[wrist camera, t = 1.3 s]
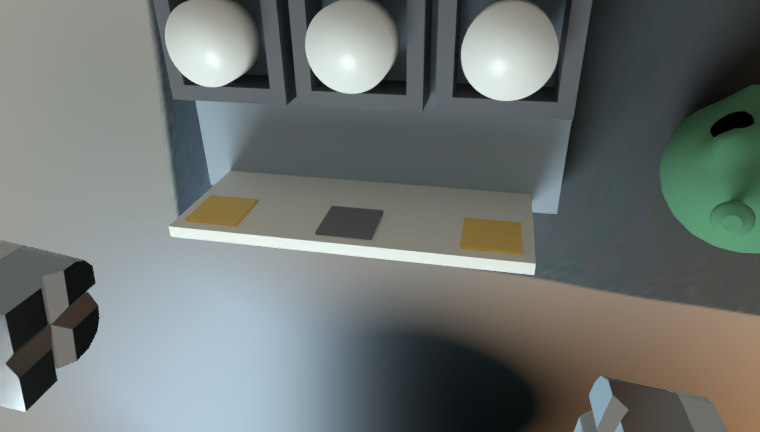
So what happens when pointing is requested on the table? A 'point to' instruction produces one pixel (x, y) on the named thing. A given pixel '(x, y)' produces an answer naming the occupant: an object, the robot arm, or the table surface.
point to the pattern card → (367, 220)
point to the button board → (390, 106)
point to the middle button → (352, 45)
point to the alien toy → (717, 172)
